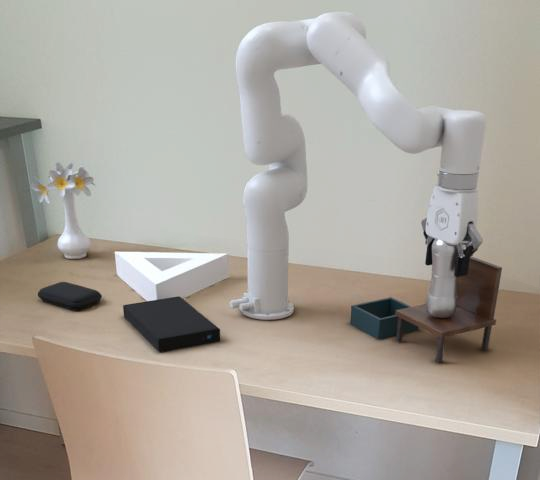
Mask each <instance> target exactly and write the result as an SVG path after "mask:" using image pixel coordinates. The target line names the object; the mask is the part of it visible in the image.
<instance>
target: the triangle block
mask: <svg viewBox="0 0 540 480" xmlns="http://www.w3.org/2000/svg"><path fill="white" fill-rule="evenodd" d="M114 258H115V268H116V269H115V270H116V276H117V277H118V278H119V279H120V280H122V281H123V282H124V283H125V284H126V285H128V286H129V287H130V288H131V289H132V290H133V291H135V292H136V293H137V294H138V295H139V296H140V297H141V298H143V299H144V300H145V302H146V301H153V300H159V299H165V298H172V297H178V296H180V297H181V298H182V299H183V300H184V299H185V298H187V297H189V296H192V295H194V294H196V293H198V292H201V291H202V290H204V289H207V288H209V287H211V286H213V285H215V284H218V283H220V282H222V281H224V280H226V279H228V278H229V277H230V275H229V274H230V272H229V271H230V269H229V253H220V252H219V253H217V252H215V253H213V252H211V253H210V252H208V253H207V252H162V251H161V252H158V251H156V252H155V251H151V252H150V251H114Z"/></svg>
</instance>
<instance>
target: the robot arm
mask: <svg viewBox="0 0 540 480" xmlns="http://www.w3.org/2000/svg"><path fill="white" fill-rule="evenodd" d="M314 65H322V66H323V67H324V68H325V69H326V70H327V71H329V72H330V73H331V74H332V75H333V76H334V77H335V78H336V79H337V80H338V81H340V82H341V84H343V85H344V86H345V87H346V89H348V90H349V91H350V92H351V93H352V94H353V95H354V96H355V97H356V98H357V99H358V102H359V103H360V106H361V108H362V110H363V111H364V112H365V115H366V116H367V118H368V120H369V121H370V122H371V124H372V125H373V126H374V127H375V129H377V130H378V131H379V132H380V134H382V135H383V136H384V137H385V138H386V139H388V141H390V143H391V144H393V145H394V146H395V147H396V148H397V149H399V150H401V151H403V152H404V153H407V154H411V155H414V154H415V155H416V154H420V153H423V152H426V151H428V150H431V149H435V148H438V147H441V150H440V158H439V159H440V160H439V168H438V172H437V184H435V185H434V187H433V190H432V193H431V197H430V201H429V204H428V209H427V214H426V217H425V218H424V219H422V220H421V222H420V224H421V227H422V230H423V236H424V239H425V242H424V243H425V245H426V253H425V261H424V264H425V266H432V244H433V242H434V240H435V239H438V240H441V241H443V242H445V243H448V244H451V245H456V246H457V250H458V253H459V257H457V258H456V264H455V271H454V276H455V277H460V276H465V275H467V274H468V269H469V262H470V256H472V257H474V254H475V253H476V252H477V251H478V250H479V248H480V246H481V245H482V244H483V242H484V239H483V237H482V236H481V234H480V232H479V231H478V229H477V224H478V223H477V221H478V211H479V196H478V195H479V193H478V190H477V188H478V182H479V181H478V180H479V174H480V167H481V166H480V165H481V159H482V153H483V147H484V146H483V145H484V138H485V133H486V125H487V118H486V115H485V114H484V113H483V112H481V111H477V110H473V109H472V110H470V109H457V110H456V109H451V108H447V107H443V106H439V105H426V106H422V107H419V108H417V107H416V106H415V105H413V104H412V103H411V102H410V101H409V100H408V99H407V98H405V96H404V95H402V94H401V92H400V91H399V90H398V89H397V88H396V86H395V84H394V83H393V81H392V79H391V76H390V62H389V60H388V58H387V57H386V56H384V54H383V53H381V52H380V51H379V50H378V49H377V48H376V47H375V46H374V45H373V44H372V43H371V42H369V41H368V39H367V30H366V27H365V25H364V23H363V21H362V20H361V19H360V17H359V16H357V15H356V14H354V13H352V12H349V11H331V12H325V13H322V14H320V15H318V16H317V17H314V18H308V19H307V18H306V19H301V20H288V21H287V20H286V21H270V22H266V23H262V24H259V25H257V26H255V27H254V28H252V29H251V30H250V31H249V32H247V33H246V34H245V35H244V37H243V38H242V40H241V42H240V43H239V45H238V48H237V50H236V55H235V74H236V81H237V87H238V95H239V103H240V104H239V105H240V106H239V107H240V117H241V128H242V139H243V147H244V151H245V155H246V158H247V159H248V161H250V162H251V163H252V164H254V165H256V166H268V170H265V171H262V172H259V173H257V174H255V175H253V176H252V177H251V178H250V179H249V180H248V181H247V183H246V184H245V186H244V189H243V193H242V202H243V203H242V204H243V210H244V215H245V222H246V223H245V225H246V248H247V252H246V253H247V255H246V256H247V257H246V258H247V260H246V261H247V263H246V264H247V266H246V267H247V270H246V271H247V291H246V292H243V296H241V297H240V298H238V299H231V300H229V302H228V306H229V308H230V309H237V308H239V310H240V311H241V313H242V314H243V315H244V316H246V317H248V318H250V319H254V320H255V319H256V320H263V321H273V320H275V321H276V320H281V319H285V318H287V317H290V316H292V315H293V314H294V312H295V306H294V304H293V303H291V302H290V301H288V298H289V297H288V294H289V293H288V290H289V249H290V248H289V247H290V246H289V245H290V241H289V240H290V235H289V228H288V224H287V220H286V213H287V212H289V211H291V210H293V209H295V208H297V207H299V206H300V205H301V204H302V203H303V202H304V201H305V198H306V197H307V193H308V168H307V151H306V149H307V148H306V140H305V139H306V138H305V133H304V130H303V127H302V126H301V123H300V121H298V120H297V118H296V117H294V116H293V115H292V114H289V113H285V112H282V106H281V93H280V88H279V86H278V83H277V81H276V77H275V73H276V72H277V71H280V70H288V69H294V68H295V69H296V68H302V67H309V66H314ZM463 245H465V249H464V248H463Z"/></svg>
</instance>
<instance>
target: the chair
mask: <svg viewBox="0 0 540 480" xmlns="http://www.w3.org/2000/svg"><path fill="white" fill-rule="evenodd" d="M502 271H503V266H500V265H497V264H493V263H491V262H488V261H485V260H483V259H481V258H477V257H474V256H470V262H469V269H468V274H467V275H465V276H460V277H458V284H457V297H458V306H457V309H456V312H455V313H454V315H453V316H451V317H446V318H439V317H434V316H431V315H429V314H428V313H427V311H426V305H425V303H422V304H418V305H415V306H414V305H413V306H411V307H408V308H404V309H399V310H396V313H395V316H397V317H398V325H397V335H395V341H396V342H397V343H401V342H403V338H404V337H403V336H404V333H403V328H404V320H406V321H408V322H410V323H412V324H414V325H416V326H418V327H419V328H420V329H422V330H423V331H426V332H428V333H430V334H433V335H434V336H436V337H438V339H437V347H436V353H435V363H437V364H440V363H443V356H444V349H445V342H446V338H448V337H452V336H456V335H461V334H464V333H465V334H466V333H468V332H473V331H477V330H480V329H484V331H483V336H482V341H481V351H483V352H486V351H488V350H489V345H490V339H491V333H492V327H493V326H496V323H497V319H496V318H495V312H496V308H497V300H498V294H499V289H500V284H501V283H500V282H501V279H502V278H501V277H502Z"/></svg>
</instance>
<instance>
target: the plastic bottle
mask: <svg viewBox="0 0 540 480" xmlns="http://www.w3.org/2000/svg"><path fill="white" fill-rule="evenodd" d="M463 248H464V250H465V249H466V247H465V245H463ZM457 257H459V253H458V250H457V246H456V245H451V244H448V243H445V242H443V241H441V240H438V239H435V240H434V242H433V244H432V265H431V278H430V283H429V287H428V293H427V295H426V297H425V298H426V299H425V303H424V304H425V305H426V311H427V313H428V314H429V315H431V316H434V317H439V318H446V317H451V316H453V315H454V313H455V312H456V309H457V306H458V297H457V284H458V277H455V276H454V271H455V264H456V258H457Z"/></svg>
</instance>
